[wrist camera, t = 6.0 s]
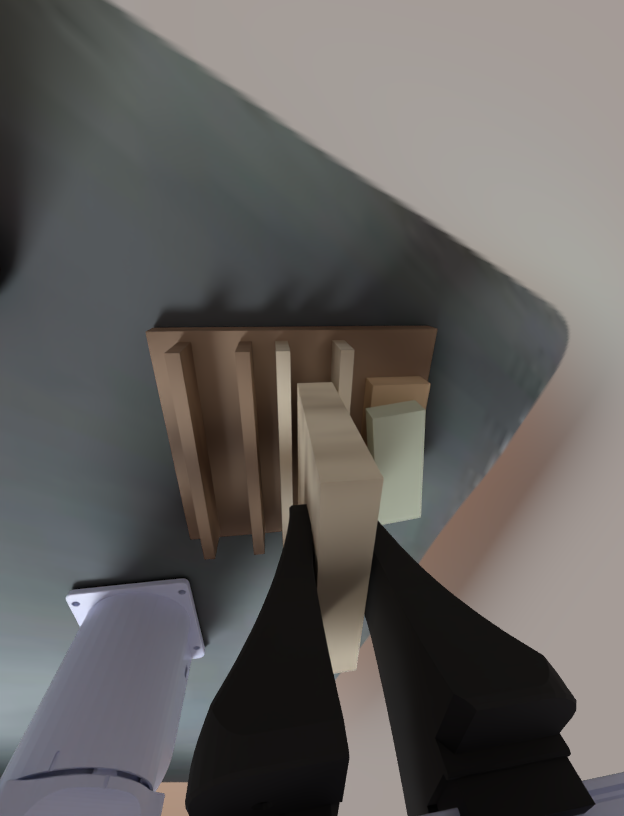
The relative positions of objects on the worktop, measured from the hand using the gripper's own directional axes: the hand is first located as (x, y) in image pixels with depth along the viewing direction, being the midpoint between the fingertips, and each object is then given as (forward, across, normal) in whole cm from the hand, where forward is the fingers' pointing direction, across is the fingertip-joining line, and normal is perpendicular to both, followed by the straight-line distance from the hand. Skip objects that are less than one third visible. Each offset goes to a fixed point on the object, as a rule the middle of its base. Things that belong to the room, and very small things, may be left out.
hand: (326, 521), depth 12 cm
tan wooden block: (+4, 0, 0) cm, 4 cm away
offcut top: (+4, -4, 0) cm, 6 cm away
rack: (+7, 0, 0) cm, 7 cm away
